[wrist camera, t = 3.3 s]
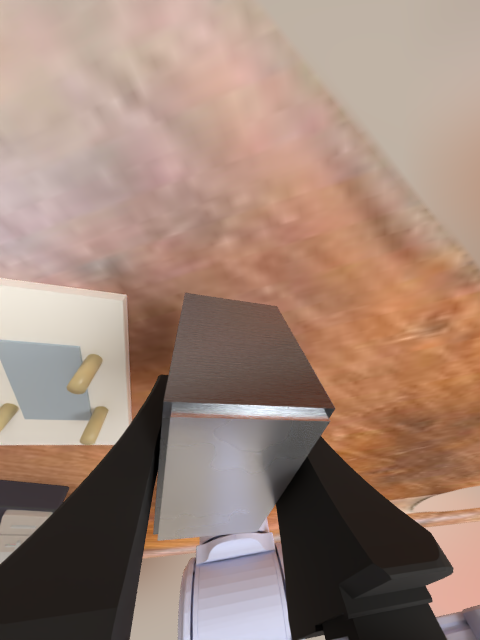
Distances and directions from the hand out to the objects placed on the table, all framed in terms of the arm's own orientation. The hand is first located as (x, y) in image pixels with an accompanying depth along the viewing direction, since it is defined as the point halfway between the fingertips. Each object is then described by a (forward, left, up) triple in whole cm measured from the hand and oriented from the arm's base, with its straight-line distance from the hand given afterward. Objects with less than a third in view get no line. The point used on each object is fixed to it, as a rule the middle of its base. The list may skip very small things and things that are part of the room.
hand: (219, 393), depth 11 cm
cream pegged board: (-9, +13, -9) cm, 18 cm away
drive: (0, 0, -2) cm, 2 cm away
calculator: (-35, +22, -9) cm, 42 cm away
